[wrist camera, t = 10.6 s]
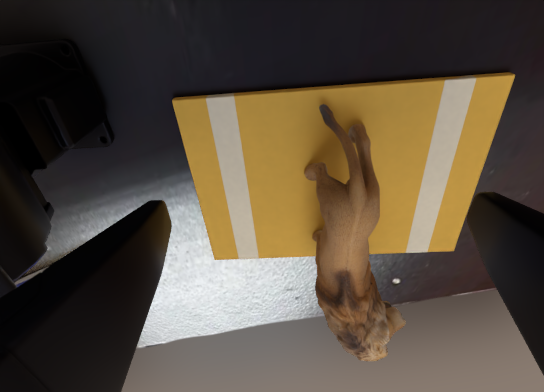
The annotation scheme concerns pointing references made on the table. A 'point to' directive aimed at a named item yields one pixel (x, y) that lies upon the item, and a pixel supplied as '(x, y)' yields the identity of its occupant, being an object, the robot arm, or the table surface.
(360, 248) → the lion figurine
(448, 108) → the towel
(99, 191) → the table surface
